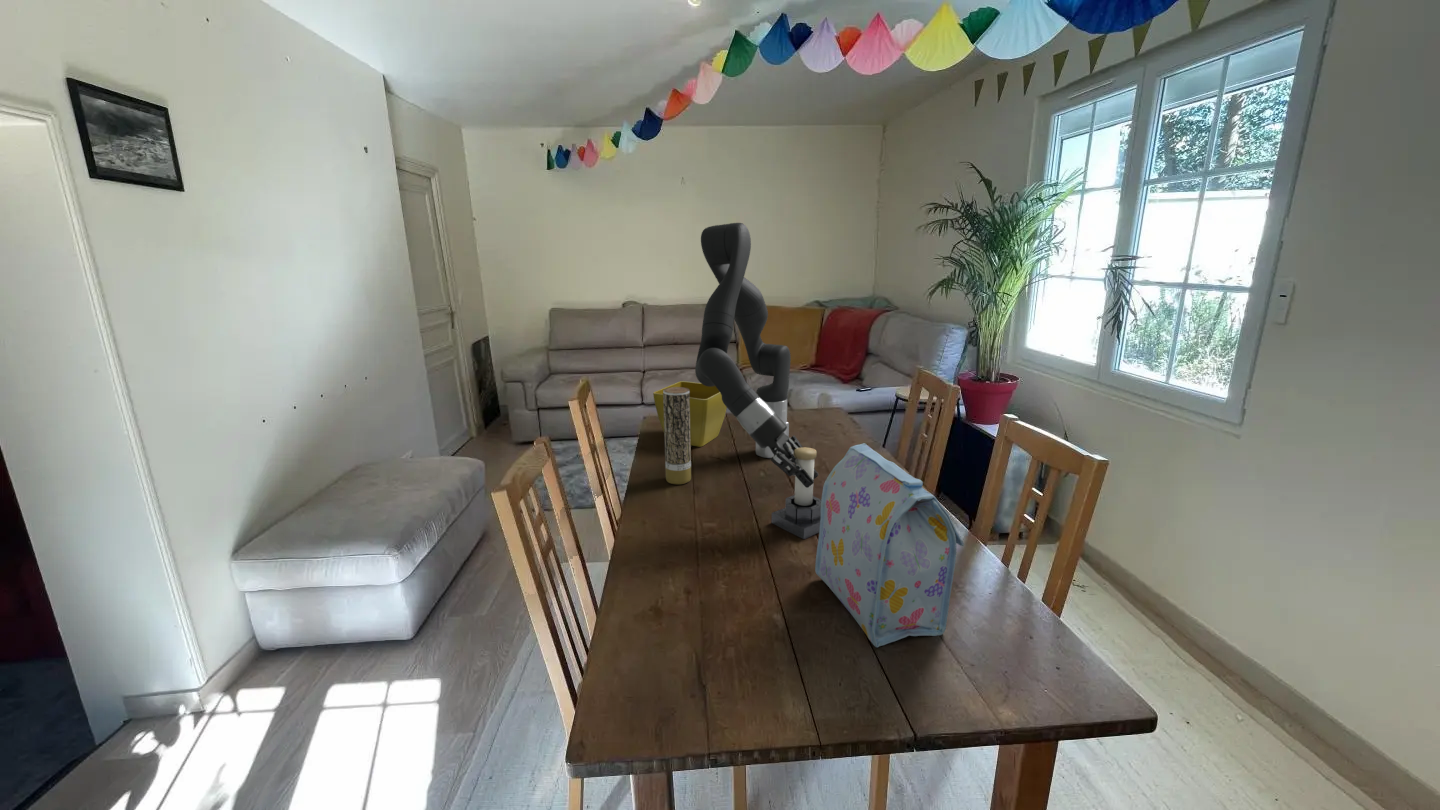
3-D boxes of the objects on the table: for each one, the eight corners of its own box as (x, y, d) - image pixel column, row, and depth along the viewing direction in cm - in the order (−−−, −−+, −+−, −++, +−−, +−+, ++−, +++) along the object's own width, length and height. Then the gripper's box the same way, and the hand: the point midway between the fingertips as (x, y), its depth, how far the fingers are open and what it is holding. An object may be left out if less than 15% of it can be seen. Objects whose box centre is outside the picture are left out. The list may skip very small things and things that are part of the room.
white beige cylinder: (802, 495, 134) (805, 445, 130) (818, 502, 130) (821, 451, 127) (788, 501, 131) (789, 450, 128) (803, 508, 127) (805, 456, 124)
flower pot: (731, 434, 196) (731, 385, 191) (706, 452, 179) (706, 399, 175) (681, 427, 203) (680, 380, 199) (653, 444, 187) (651, 393, 182)
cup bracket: (802, 510, 139) (802, 489, 137) (834, 525, 131) (835, 503, 130) (771, 522, 133) (771, 500, 131) (803, 539, 125) (804, 515, 124)
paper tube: (692, 476, 160) (691, 387, 154) (689, 486, 153) (687, 393, 147) (668, 475, 161) (665, 386, 154) (663, 485, 154) (660, 393, 148)
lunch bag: (964, 635, 94) (983, 482, 87) (871, 656, 89) (883, 496, 82) (887, 565, 115) (897, 437, 108) (809, 579, 110) (814, 446, 103)
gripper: (763, 420, 121) (818, 483, 120) (781, 404, 134) (832, 461, 133) (739, 442, 125) (793, 503, 124) (759, 424, 137) (808, 479, 136)
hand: (812, 481), depth 128 cm, fingers closed on white beige cylinder, 4 cm apart
